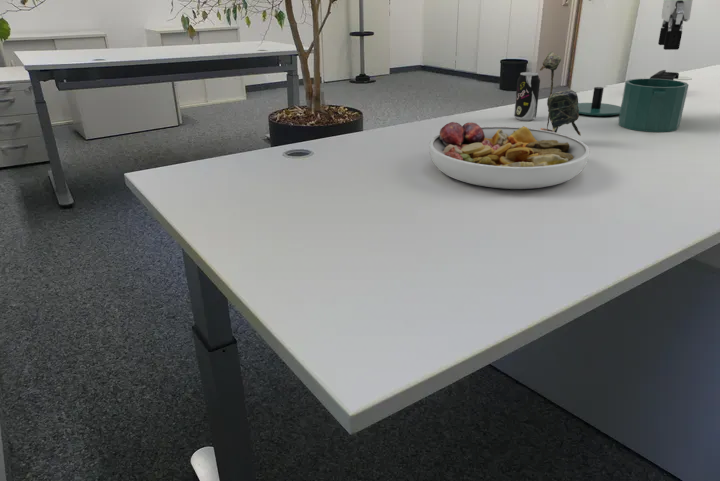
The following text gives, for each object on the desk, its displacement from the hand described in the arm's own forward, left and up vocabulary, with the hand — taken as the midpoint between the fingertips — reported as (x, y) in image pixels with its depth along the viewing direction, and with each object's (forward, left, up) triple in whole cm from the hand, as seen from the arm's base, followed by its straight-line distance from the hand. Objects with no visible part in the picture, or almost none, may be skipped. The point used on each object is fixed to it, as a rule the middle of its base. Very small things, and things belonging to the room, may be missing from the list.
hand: (668, 47), depth 133 cm
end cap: (-7, -44, -19) cm, 48 cm away
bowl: (+31, +49, -19) cm, 61 cm away
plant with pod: (+23, +26, -19) cm, 40 cm away
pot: (+1, +3, -19) cm, 19 cm away
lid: (+13, -11, -18) cm, 25 cm away
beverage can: (+31, +3, -19) cm, 37 cm away
